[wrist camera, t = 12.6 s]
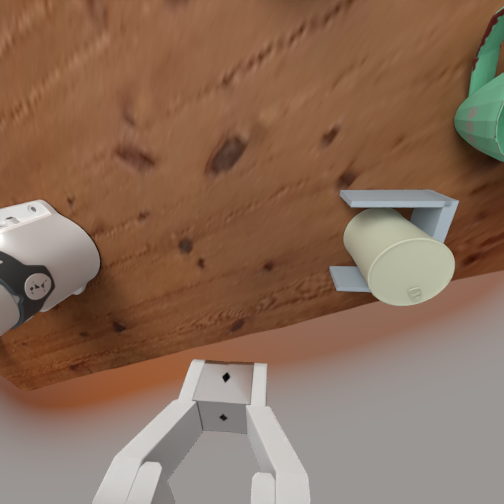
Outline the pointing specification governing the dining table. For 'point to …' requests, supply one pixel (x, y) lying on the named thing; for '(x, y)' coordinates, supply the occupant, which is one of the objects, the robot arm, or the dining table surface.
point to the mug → (485, 96)
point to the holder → (423, 216)
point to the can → (397, 257)
